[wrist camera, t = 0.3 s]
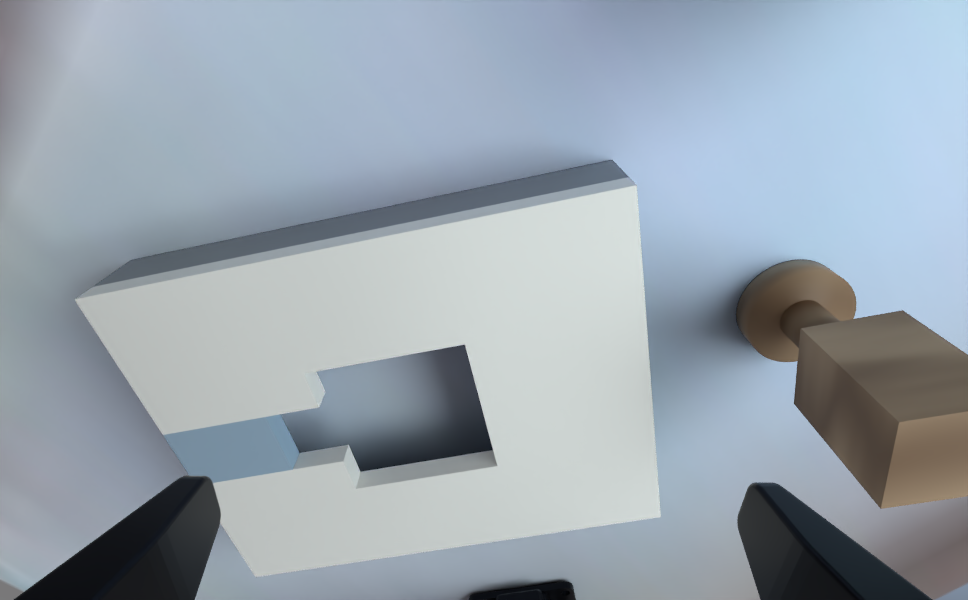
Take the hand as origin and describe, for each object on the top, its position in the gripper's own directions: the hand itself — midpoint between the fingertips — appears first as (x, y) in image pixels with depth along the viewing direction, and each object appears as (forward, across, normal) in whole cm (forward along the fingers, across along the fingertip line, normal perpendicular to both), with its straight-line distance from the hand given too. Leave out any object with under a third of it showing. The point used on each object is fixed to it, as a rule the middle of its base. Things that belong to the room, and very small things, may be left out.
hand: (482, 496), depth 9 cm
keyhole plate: (+14, +3, +8) cm, 16 cm away
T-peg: (+14, -14, +4) cm, 20 cm away
